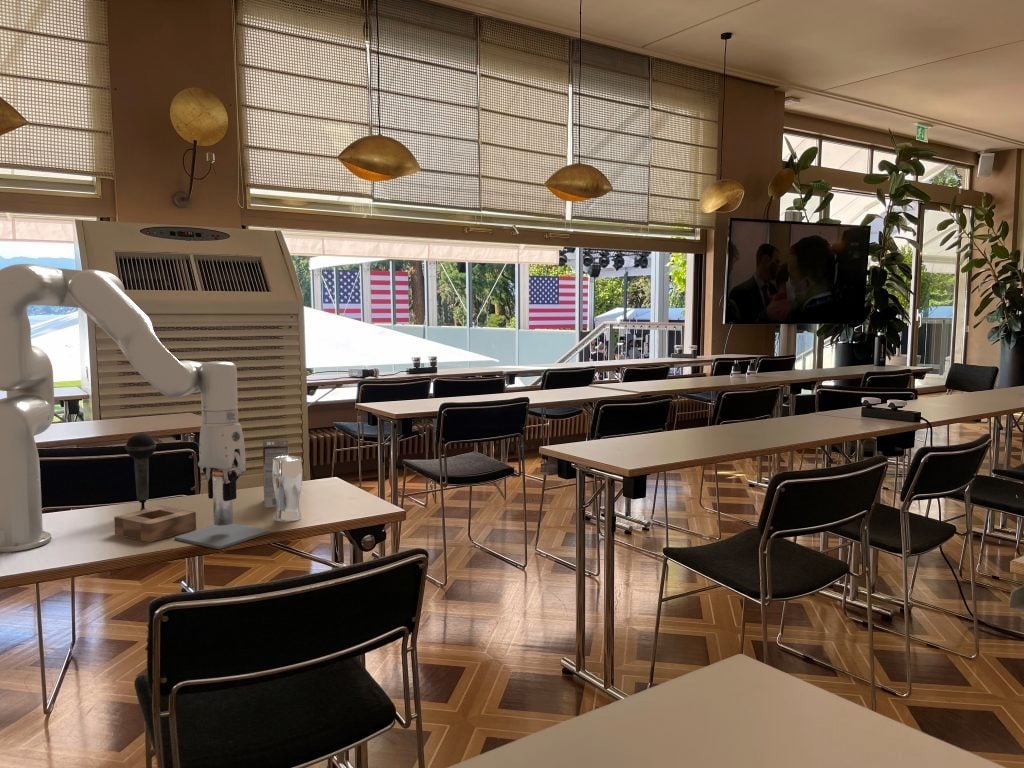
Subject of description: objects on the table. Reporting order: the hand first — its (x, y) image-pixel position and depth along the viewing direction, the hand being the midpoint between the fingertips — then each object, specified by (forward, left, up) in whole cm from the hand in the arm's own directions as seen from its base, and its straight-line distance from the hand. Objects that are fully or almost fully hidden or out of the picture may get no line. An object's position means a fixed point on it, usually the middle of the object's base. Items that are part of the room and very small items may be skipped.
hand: (222, 497), depth 168 cm
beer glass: (+18, -2, -9) cm, 20 cm away
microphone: (+4, +33, -9) cm, 34 cm away
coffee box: (+28, +12, -9) cm, 32 cm away
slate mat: (0, 0, -9) cm, 9 cm away
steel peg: (0, 0, -6) cm, 6 cm away
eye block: (-5, +16, -9) cm, 19 cm away
